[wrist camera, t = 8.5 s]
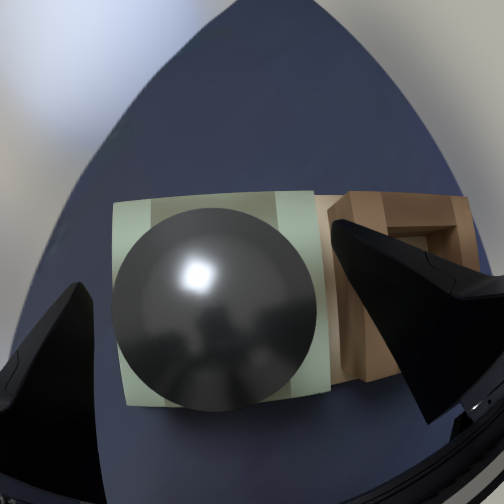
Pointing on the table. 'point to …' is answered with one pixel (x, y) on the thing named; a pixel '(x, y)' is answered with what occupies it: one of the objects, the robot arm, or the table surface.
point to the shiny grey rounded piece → (214, 309)
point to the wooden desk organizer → (317, 268)
